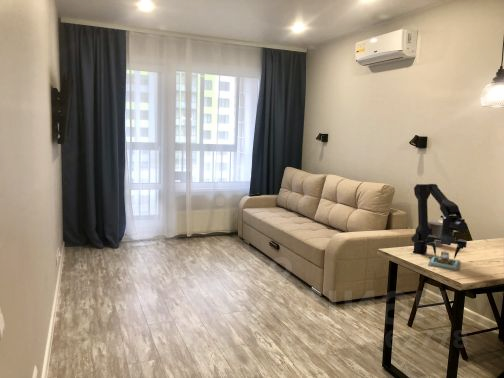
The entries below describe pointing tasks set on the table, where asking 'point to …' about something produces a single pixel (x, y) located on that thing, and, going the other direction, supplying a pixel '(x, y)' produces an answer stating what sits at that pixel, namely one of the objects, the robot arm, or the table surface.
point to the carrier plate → (451, 267)
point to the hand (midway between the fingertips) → (444, 256)
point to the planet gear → (444, 258)
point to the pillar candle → (435, 230)
